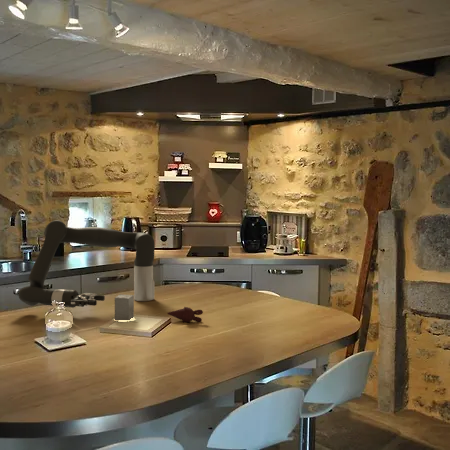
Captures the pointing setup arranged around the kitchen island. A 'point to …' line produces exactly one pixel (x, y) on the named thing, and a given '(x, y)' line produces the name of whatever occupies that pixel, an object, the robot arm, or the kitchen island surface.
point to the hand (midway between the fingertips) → (100, 300)
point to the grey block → (124, 307)
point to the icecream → (186, 314)
